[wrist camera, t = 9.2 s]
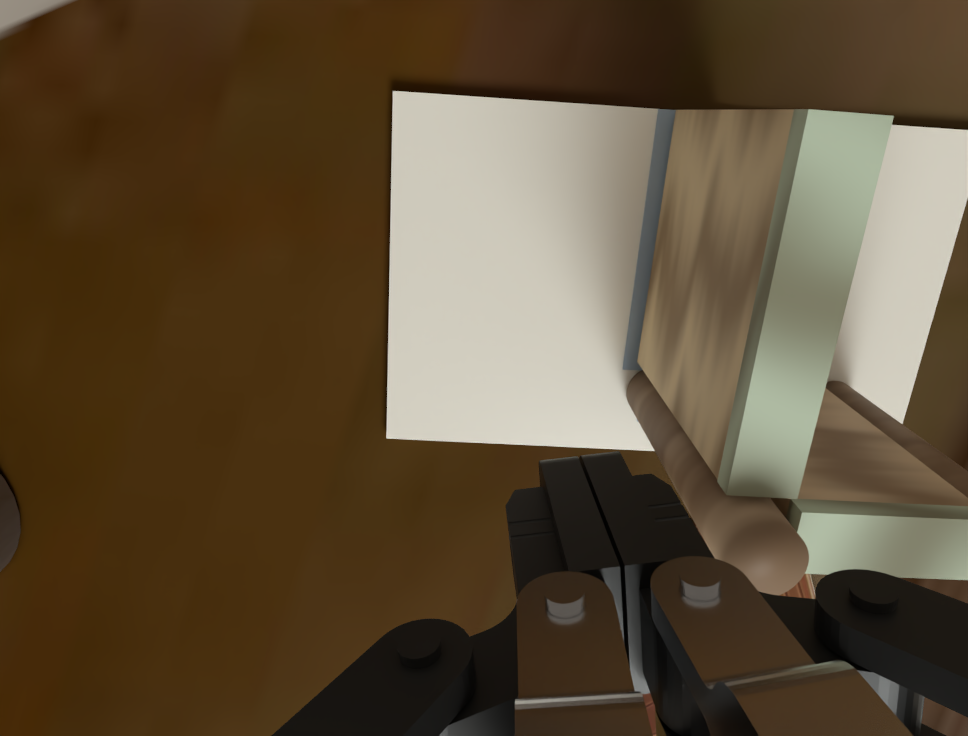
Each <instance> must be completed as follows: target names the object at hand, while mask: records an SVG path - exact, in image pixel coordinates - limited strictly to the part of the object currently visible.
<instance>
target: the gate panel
mask: <svg viewBox="0 0 968 736" xmlns="http://www.w3.org/2000/svg"><path fill="white" fill-rule="evenodd" d="M893 118H894V116H889V115H876V114H863V113H850V112H838V111H825V110H812V109H770V110H676V112H675V119H674V125H673V132H672V138H671V145H670V151H669V158H668V164H667V171H666V177H665V184H664V190H663V197H662V203H661V210H660V216H659V223H658V229H657V236H656V242H655V249H654V255H653V262H652V268H651V275H650V281H649V288H648V294H647V301H646V307H645V314H644V320H643V327H642V333H641V340H640V346H639V353H638V359H637V362H638V364H639V365H640V367H641V368H642V370H643V371H644V373H645V374H646V375H647V377H648V378H649V380H650V381H651V383H652V384H653V386H654V387H655V389H656V390H657V392H658V393H659V395H660V396H661V398H662V399H663V400H664V402H665V403H666V405H667V406H668V408H669V409H670V411H671V412H672V414H673V415H674V417H675V418H676V420H677V421H678V422H679V424H680V425H681V427H682V428H683V430H684V431H685V433H686V434H687V436H688V437H689V439H690V440H691V442H692V443H693V445H694V446H695V447H696V449H697V450H698V452H699V453H700V455H701V456H702V458H703V459H704V461H705V462H706V464H707V465H708V467H709V468H710V469H711V471H712V472H713V474H714V475H715V477H716V478H717V482H718V484H719V485H720V487H721V488H722V489H723V491H724V492H725V494H726V495H731V496H750V497H770V498H789V499H798V495H799V491H800V487H801V483H802V479H803V475H804V471H805V467H806V463H807V459H808V455H809V451H810V447H811V443H812V439H813V435H814V431H815V427H816V423H817V419H818V415H819V411H820V407H821V403H822V399H823V396H824V392H825V388H826V384H827V380H828V376H829V372H830V368H831V364H832V360H833V356H834V352H835V348H836V344H837V340H838V336H839V332H840V328H841V324H842V320H843V316H844V312H845V308H846V304H847V300H848V296H849V292H850V288H851V284H852V280H853V277H854V273H855V269H856V265H857V261H858V257H859V253H860V249H861V245H862V241H863V237H864V233H865V229H866V225H867V221H868V217H869V213H870V209H871V205H872V201H873V197H874V193H875V189H876V185H877V181H878V177H879V173H880V169H881V165H882V162H883V158H884V154H885V150H886V146H887V142H888V138H889V134H890V130H891V126H892V122H893Z"/></svg>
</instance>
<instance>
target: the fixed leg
mask: <svg viewBox="0 0 968 736" xmlns="http://www.w3.org/2000/svg"><path fill="white" fill-rule="evenodd" d="M626 397H627V401H628V404H629V405H630V407H631V409H632V411H633V413H634V414H635V416H636V418H637V420H638V422H639V423H640V425H641V427H642V429H643V431H644V432H645V434H646V436H647V438H648V440H649V441H650V443H651V445H652V447H653V449H654V450H655V452H656V454H657V456H658V458H659V459H660V461H661V463H662V465H663V467H664V468H665V470H666V472H667V474H668V476H669V477H670V479H671V481H672V483H673V485H674V486H675V488H676V490H677V492H678V494H679V496H680V497H681V499H682V501H683V503H684V505H685V506H686V508H687V510H688V512H689V514H690V515H691V517H692V519H693V521H694V523H695V524H696V526H697V528H698V530H699V532H700V533H701V535H702V537H703V539H704V541H705V542H706V544H707V546H708V548H709V550H710V551H711V553H712V554H713V556H714V558H715V559H718V560H722V561H724V562H727V563H729V564H731V565H733V566H735V567H736V568H738V569H739V570H740V571H742V572H743V573H744V574H745V575H746V576H747V578H748V579H749V580H750V582H751V583H752V584H753V585H754V587H755V588H756V589H757V590H758V591H759V592H763V593H767V594H772V595H781V594H783V593H785V592H787V591H789V590H790V589H791V588H793V587H794V586H795V585H796V584H797V583H798V582H799V581H800V580H801V579H802V577H803V576H804V574H827V575H829V574H831V573H833V572H837V571H841V570H848V569H863V570H871V571H877V572H881V573H886V574H889V575H892V576H895V577H903V578H928V579H954V580H968V471H966V470H965V469H964V468H962V467H961V466H959V465H958V464H957V463H955V462H954V461H953V460H951V459H950V458H948V457H947V456H946V455H944V454H943V453H941V452H940V451H939V450H937V449H936V448H934V447H933V446H932V445H930V444H929V443H928V442H926V441H925V440H923V439H922V438H921V437H919V436H918V435H916V434H915V433H914V432H912V431H911V430H909V429H908V428H907V427H905V426H904V425H903V424H901V423H900V422H898V421H897V420H896V419H894V418H893V417H891V416H890V415H889V414H887V413H886V412H884V411H883V410H882V409H880V408H879V407H877V406H876V405H875V404H873V403H872V402H871V401H869V400H868V399H866V398H865V397H864V396H862V395H861V394H859V393H858V392H857V391H855V390H854V389H852V388H851V387H850V386H848V385H847V384H845V383H844V382H841V381H829V382H827V384H826V388H825V392H824V396H823V399H822V403H821V407H820V411H819V415H818V419H817V423H816V427H815V431H814V435H813V439H812V443H811V447H810V451H809V455H808V459H807V463H806V467H805V471H804V475H803V479H802V483H801V487H800V491H799V495H798V499H789V498H770V497H750V496H731V495H726V494H725V492H724V491H723V489H722V488H721V487H720V485H719V484H718V482H717V478H716V477H715V475H714V474H713V472H712V471H711V469H710V468H709V467H708V465H707V464H706V462H705V461H704V459H703V458H702V456H701V455H700V453H699V452H698V450H697V449H696V447H695V446H694V445H693V443H692V442H691V440H690V439H689V437H688V436H687V434H686V433H685V431H684V430H683V428H682V427H681V425H680V424H679V422H678V421H677V420H676V418H675V417H674V415H673V414H672V412H671V411H670V409H669V408H668V406H667V405H666V403H665V402H664V400H663V399H662V398H661V396H660V395H659V393H658V392H657V390H656V389H655V387H654V386H653V384H652V383H651V381H650V380H649V378H648V377H647V375H646V374H645V373H644V371H643V370H641V371H640V372H638V373H637V374H636V375H634V377H633V378H632V379H631V380H630V382H629V384H628V387H627V391H626Z"/></svg>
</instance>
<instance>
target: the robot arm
mask: <svg viewBox="0 0 968 736" xmlns="http://www.w3.org/2000/svg"><path fill="white" fill-rule="evenodd" d="M539 476H540V487H536V488H528V489H519V490H515V491H514V492H513V494H512V496H511V498H510V499H509V501H508V503H507V504H506V513H507V522H508V531H509V539H510V548H511V557H512V566H513V575H514V582H515V589H516V596H517V603H516V605H515V608H514V609H513V611H512V612H511V613H510V614H509V615H508V616H507V618H506V619H504V620H503V621H502V622H500V623H499V624H498V625H496V626H494V627H492V628H491V629H488V630H486V631H484V632H481V633H479V634H476V635H473V636H471V637H469V635H468V634H467V633H466V632H465V630H464V629H462V628H461V627H460V626H458V625H456V624H454V623H452V622H449V621H446V620H440V619H421V620H416V621H411V622H408V623H405V624H402V625H400V626H398V627H396V628H394V629H392V630H391V631H389V632H388V633H387V634H385V635H384V636H383V637H382V638H380V639H379V640H378V641H377V642H376V643H375V644H374V645H373V646H371V647H370V648H369V649H368V650H367V651H366V652H365V653H364V654H363V655H361V656H360V657H359V658H358V659H357V660H356V661H355V662H354V663H352V664H351V665H350V666H349V667H348V668H347V669H346V670H345V671H343V672H342V673H341V674H340V675H339V676H338V677H337V678H336V679H335V680H333V681H332V682H331V683H330V684H329V685H328V686H327V687H326V688H324V689H323V690H322V691H321V692H320V693H319V694H318V695H317V696H316V697H314V698H313V699H312V700H311V701H310V702H309V703H308V704H307V705H305V706H304V707H303V708H302V709H301V710H300V711H299V712H298V713H296V714H295V715H294V716H293V717H292V718H291V719H290V720H289V721H288V722H286V723H285V724H284V725H283V726H282V727H281V728H280V729H279V730H277V731H276V732H275V733H274V734H273V735H272V736H653V735H652V730H651V726H650V722H649V718H648V714H647V709H646V705H645V701H644V698H643V695H642V694H648V693H650V694H651V697H652V699H653V702H654V705H655V722H656V736H946V735H944V734H942V733H940V732H938V731H936V730H934V729H932V728H930V727H928V726H926V725H924V724H922V723H921V721H922V713H923V705H924V697H926V698H928V699H930V700H932V701H935V702H937V703H939V704H941V705H943V706H945V707H947V708H949V709H951V710H953V711H956V712H958V713H960V714H962V715H964V716H966V717H968V604H967V603H965V602H962V601H959V600H957V599H954V598H951V597H948V596H946V595H943V594H940V593H938V592H935V591H932V590H930V589H927V588H924V587H922V586H919V585H916V584H914V583H911V582H908V581H906V580H903V579H900V578H897V577H895V576H892V575H889V574H886V573H881V572H877V571H871V570H863V569H848V570H841V571H837V572H833V573H831V574H829V575H827V576H825V577H824V578H822V579H821V580H820V581H819V583H818V584H817V587H816V594H815V599H810V598H800V597H789V596H779V595H772V594H767V593H763V592H759V591H758V590H757V589H756V588H755V587H754V585H753V584H752V583H751V582H750V580H749V579H748V578H747V576H746V575H745V574H744V573H743V572H742V571H740V570H739V569H738V568H736V567H735V566H733V565H731V564H729V563H727V562H724V561H722V560H718V559H715V558H714V556H713V554H712V553H711V551H710V550H709V548H708V546H707V545H706V543H705V541H704V540H703V538H702V536H701V535H700V533H699V532H698V530H697V528H696V527H695V525H694V523H693V522H692V520H691V518H689V517H688V513H687V512H686V510H685V509H684V507H683V505H681V503H680V500H679V499H678V497H677V495H676V494H675V492H674V490H673V489H672V487H671V486H670V485H668V484H667V483H665V482H664V481H662V480H660V479H659V478H657V477H656V476H654V475H653V474H644V475H636V476H632V475H631V473H630V471H629V469H628V467H627V465H626V463H625V461H624V459H623V457H622V456H621V454H620V452H619V451H617V452H608V453H600V454H592V455H583V456H580V457H579V458H578V457H577V456H576V457H567V458H559V459H550V460H542V461H539ZM20 532H21V530H20V514H19V511H18V507H17V504H16V501H15V498H14V495H13V493H12V492H11V490H10V488H9V486H8V484H7V483H6V481H5V479H4V478H3V477H2V475H1V474H0V571H1V570H2V569H3V568H4V567H5V566H6V565H7V564H8V563H9V562H10V560H11V558H12V556H13V555H14V553H15V551H16V549H17V546H18V541H19V537H20Z"/></svg>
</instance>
